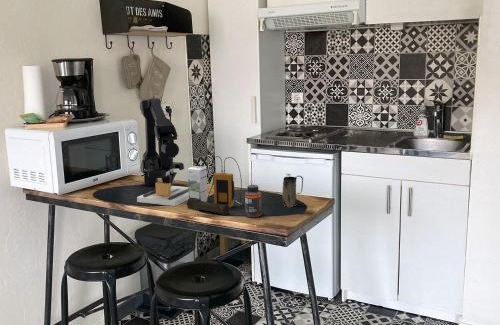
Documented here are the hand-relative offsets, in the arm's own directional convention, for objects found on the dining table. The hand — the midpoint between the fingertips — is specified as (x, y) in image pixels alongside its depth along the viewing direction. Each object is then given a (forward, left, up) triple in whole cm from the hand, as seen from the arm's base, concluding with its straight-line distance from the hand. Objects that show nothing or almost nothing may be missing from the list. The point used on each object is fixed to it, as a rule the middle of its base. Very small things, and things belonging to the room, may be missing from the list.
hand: (167, 190), depth 211 cm
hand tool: (+11, +24, -4) cm, 27 cm away
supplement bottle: (+10, +43, -4) cm, 44 cm away
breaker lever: (+3, 0, -1) cm, 3 cm away
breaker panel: (-2, 0, -4) cm, 4 cm away
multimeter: (-1, +27, -4) cm, 27 cm away
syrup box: (+1, +15, -4) cm, 15 cm away
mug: (-8, +52, -4) cm, 53 cm away
